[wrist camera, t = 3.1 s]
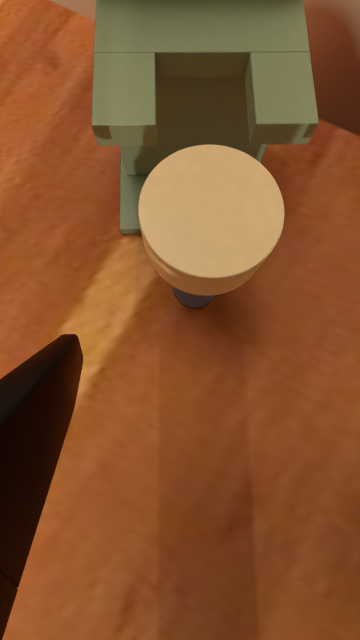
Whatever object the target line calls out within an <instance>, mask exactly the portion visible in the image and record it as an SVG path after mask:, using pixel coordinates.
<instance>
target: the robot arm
mask: <svg viewBox="0 0 360 640" xmlns="http://www.w3.org/2000/svg"><path fill="white" fill-rule="evenodd" d="M82 364H83V354H82V350H81V346H80V342H79V339H78V336H77V335H75V334H63V335H61V336H59V337H58V338H57V339H55V340H54V341H53V342H51V343H50V344H48V345H47V346H46V347H44V348H43V349H41V350H40V351H39V352H37V353H36V354H35V355H33V356H32V357H30V358H29V359H28V360H26V361H25V362H24V363H22V364H21V365H19V366H18V367H17V368H15V369H14V370H12V371H11V372H10V373H8V374H7V375H6V376H4V377H3V378H1V379H0V640H2V638H3V635H4V632H5V629H6V626H7V622H8V619H9V616H10V613H11V610H12V606H13V603H14V600H15V597H16V594H17V588H18V586H19V583H20V580H21V577H22V574H23V571H24V567H25V564H26V561H27V558H28V555H29V551H30V548H31V545H32V542H33V539H34V535H35V532H36V529H37V526H38V523H39V519H40V516H41V513H42V510H43V507H44V504H45V500H46V497H47V494H48V491H49V488H50V484H51V481H52V478H53V475H54V472H55V468H56V465H57V462H58V459H59V456H60V452H61V449H62V446H63V443H64V440H65V436H66V433H67V430H68V427H69V424H70V421H71V417H72V414H73V411H74V407H75V402H76V397H77V392H78V386H79V381H80V375H81V370H82Z"/></svg>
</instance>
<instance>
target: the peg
mask: <svg viewBox="0 0 360 640" xmlns="http://www.w3.org/2000/svg"><path fill="white" fill-rule="evenodd" d="M138 217H139V224H140V228H141V232H142V237H143V241H144V245H145V249H146V253H147V256H148V258H149V261H150V263H151V264H152V266H153V268H154V269H155V271H156V272H157V273H158V274H159V275H160V276H161V277H162V278H163V279H164V280H165V281H166V282H167V283H169V284H170V285H172V286H173V291H174V294H175V297H176V298H177V299H178V301H179V302H180V303H182V304H183V305H185V306H187V307H191V308H198V307H202V306H205V305H206V304H208V303H209V302H210V301H211V300H212V299H213V297H214V295H219V294H223V293H227V292H229V291H232V290H234V289H236V288H238V287H240V286H241V285H243V284H244V283H245V282H247V281H248V280H249V279H250V278H251V277H252V276H253V275H254V274H255V272H256V271H257V270H258V268H259V267H260V266H261V265H262V263H263V262H264V261H265V259H266V258H267V257H268V256H269V254H270V253H271V252H272V250H273V249H274V247H275V246H276V244H277V242H278V240H279V238H280V235H281V233H282V229H283V224H284V203H283V199H282V194H281V192H280V189H279V187H278V185H277V183H276V181H275V179H274V178H273V177H272V175H271V174H270V172H269V171H268V170H267V169H266V168H265V167H264V166H263V165H262V164H261V163H260V162H258V161H257V160H256V159H254V158H253V157H251V156H250V155H248V154H246V153H244V152H242V151H240V150H237V149H234V148H231V147H227V146H222V145H197V146H192V147H188V148H185V149H182V150H179V151H177V152H175V153H173V154H171V155H169V156H168V157H167V158H165V159H164V160H162V161H161V162H160V163H159V164H158V165H157V166H156V167H155V168H154V169H153V170H152V171H151V173H150V174H149V176H148V177H147V179H146V181H145V183H144V185H143V187H142V190H141V193H140V196H139V203H138Z"/></svg>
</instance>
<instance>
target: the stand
mask: <svg viewBox="0 0 360 640" xmlns="http://www.w3.org/2000/svg"><path fill="white" fill-rule="evenodd" d="M95 14H96V15H95V40H94V68H93V95H92V122H91V126H92V129H93V132H94V135H95V138H96V141H97V143H98V146H120V149H121V157H120V221H119V229H120V232H121V234H142V232H141V228H140V224H139V217H138V203H139V196H140V193H141V190H142V187H143V185H144V183H145V181H146V179H147V177H148V176H149V174H150V173H151V171H152V170H153V169H154V168H155V167H156V166H157V165H158V164H159V163H160V162H161V161H162V160H164V159H165V158H167V157H168V156H169V155H171V154H173V153H175V152H177V151H179V150H182V149H185V148H188V147H192V146H197V145H222V146H227V147H231V148H234V149H237V150H240V151H242V152H244V153H246V154H248V155H250V156H251V157H253V158H254V159H256V160H257V161H258V162H260V163H261V158H262V156H263V153H264V151H265V148H266V146H267V144H307V143H308V142H309V140H310V138H311V136H312V135H313V133H314V131H315V129H316V128H317V126H318V124H319V121H318V114H317V106H316V98H315V91H314V84H313V75H312V68H311V60H310V53H309V44H308V36H307V28H306V21H305V13H304V5H303V0H96V13H95Z"/></svg>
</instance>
